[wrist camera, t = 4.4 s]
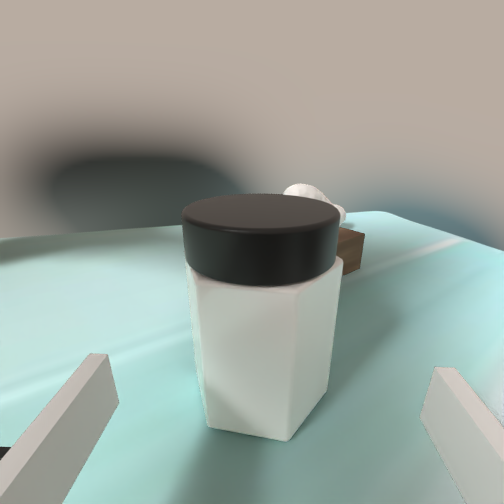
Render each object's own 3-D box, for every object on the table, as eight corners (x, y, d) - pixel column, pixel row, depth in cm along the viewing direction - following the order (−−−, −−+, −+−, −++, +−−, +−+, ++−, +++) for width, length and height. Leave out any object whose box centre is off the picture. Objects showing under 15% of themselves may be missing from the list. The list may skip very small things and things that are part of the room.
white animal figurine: (279, 180, 48) (338, 184, 52) (273, 229, 51) (329, 228, 55) (297, 186, 42) (361, 189, 47) (290, 240, 45) (351, 238, 50)
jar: (324, 349, 22) (341, 195, 18) (330, 455, 15) (363, 235, 10) (214, 335, 24) (205, 191, 19) (170, 424, 16) (139, 223, 12)
